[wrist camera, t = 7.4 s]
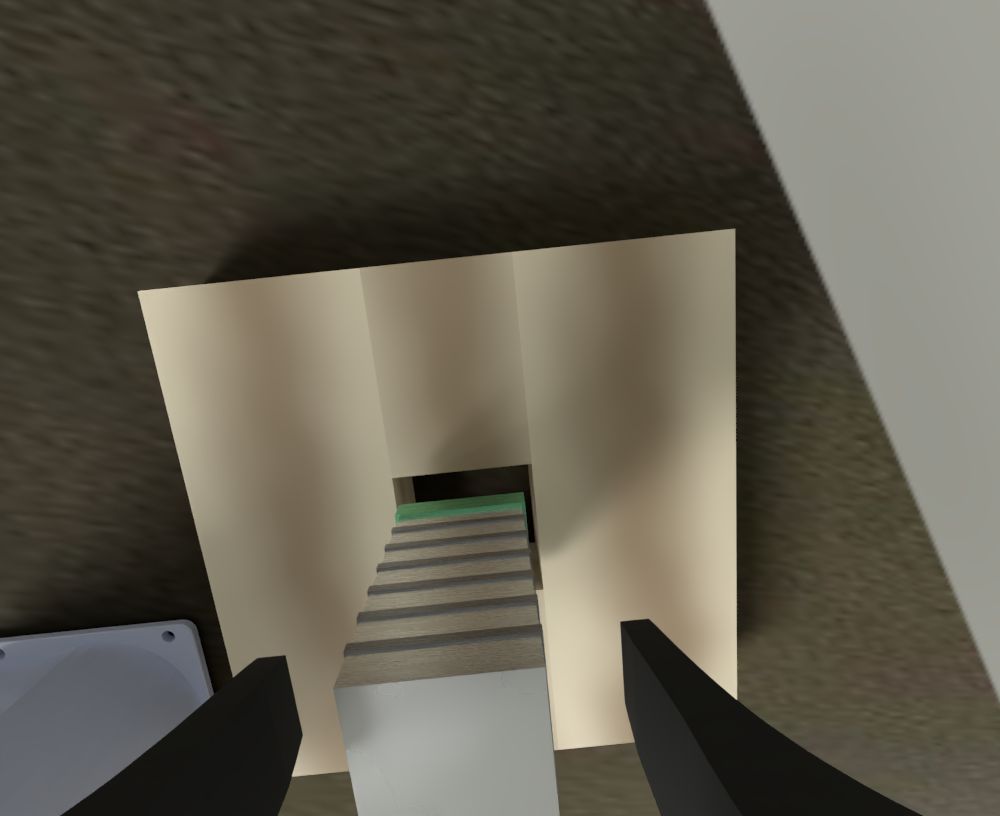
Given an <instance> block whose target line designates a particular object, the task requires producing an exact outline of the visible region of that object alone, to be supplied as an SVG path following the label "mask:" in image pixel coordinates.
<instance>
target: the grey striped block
mask: <svg viewBox="0 0 1000 816" xmlns="http://www.w3.org/2000/svg"><path fill="white" fill-rule="evenodd" d="M395 521H396V527H393V528H392V530H391V534H392V537H391V540H390V542H389V544H386V545H385V548H384V550H385V555H384V558H383V560H382V563H378V566H377V568H376V570H377V576H376V579H375V581H374V584H373V586H369V588H368V591H367V594H368V599H367V602H366V605H365V607H364V610H363V612H359V614H358V616H357V619H356V621H357V628H356V630H355V633H354V636H353V638H352V641H351V643H347V644H346V646H345V649H344V651H343V653H344V658H345V659H344V662H343V664H342V667H341V669H340V672H339V675H338V677H337V680H336V682H335V685H334V688H333V691H334V696H335V701H336V706H337V711H338V716H339V721H340V726H341V731H342V736H343V741H344V746H345V751H346V756H347V761H348V766H349V771H350V776H351V781H352V786H353V791H354V796H355V801H356V806H357V811H358V816H559V806H558V795H557V794H558V784H557V774H556V764H555V753H554V743H553V732H552V722H551V711H550V701H549V690H548V680H547V669H546V659H545V648H544V638H543V629H542V624H540V614H539V604H538V596H537V594H536V588H535V578H534V570H533V569H532V560H531V551H530V548H529V539H528V529H527V518H526V508H525V500H524V493H523V492H518V493H508V494H499V495H489V496H479V497H470V498H460V499H450V500H440V501H431V502H421V503H411V504H402V505H399V506H398V509H397V511H396V514H395Z"/></svg>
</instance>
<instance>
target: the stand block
mask: <svg viewBox="0 0 1000 816" xmlns="http://www.w3.org/2000/svg"><path fill="white" fill-rule="evenodd" d="M138 295H139V299H140V303H141V307H142V311H143V315H144V319H145V323H146V327H147V331H148V336H149V340H150V344H151V348H152V352H153V356H154V360H155V364H156V368H157V372H158V376H159V380H160V384H161V388H162V392H163V396H164V400H165V404H166V408H167V412H168V416H169V421H170V425H171V429H172V433H173V437H174V441H175V445H176V449H177V453H178V457H179V461H180V465H181V469H182V473H183V477H184V481H185V485H186V489H187V493H188V497H189V501H190V505H191V510H192V514H193V518H194V522H195V526H196V530H197V534H198V538H199V542H200V546H201V550H202V554H203V558H204V562H205V566H206V570H207V574H208V578H209V582H210V586H211V590H212V595H213V599H214V603H215V607H216V611H217V615H218V619H219V623H220V627H221V631H222V635H223V639H224V643H225V647H226V651H227V655H228V659H229V663H230V667H231V671H232V675H233V677H235V676H236V675H237V674H238V673H239V672H240V671H242V670H243V669H244V668H245V667H246V666H248V665H249V664H250V663H252V662H253V661H254V660H255V659H257V658H262V657H272V656H282V655H286V660H287V664H288V669H289V673H290V678H291V682H292V687H293V692H294V696H295V701H296V705H297V710H298V715H299V719H300V724H301V728H302V733H303V737H302V741H301V745H300V749H299V752H298V756H297V760H296V764H295V767H294V771H293V774H292V777H293V776H303V775H313V774H323V773H333V772H343V771H349V766H348V761H347V756H346V751H345V746H344V741H343V736H342V731H341V726H340V721H339V716H338V711H337V706H336V701H335V696H334V691H333V688H334V685H335V682H336V680H337V677H338V675H339V672H340V669H341V667H342V664H343V662H344V659H345V658H344V653H343V651H344V649H345V646H346V644H347V643H351V641H352V638H353V636H354V633H355V630H356V628H357V621H356V619H357V616H358V614H359V612H363V610H364V607H365V605H366V602H367V599H368V594H367V591H368V588H369V586H373V584H374V581H375V579H376V576H377V570H376V568H377V566H378V563H382V560H383V558H384V555H385V550H384V548H385V545H386V544H389V542H390V540H391V537H392V534H391V530H392V528H393V527H396V521H395V514H396V511H397V509H398V506H399V505H402V504H411V503H416V500H415V493H414V487H413V480H412V476H418V475H428V474H438V473H447V472H457V471H467V470H476V469H486V468H496V467H506V466H515V465H525V464H528V472H529V482H530V493H531V503H532V514H533V524H534V535H535V543H529V548H530V551H531V560H532V569H533V570H534V578H535V588H536V594H537V596H538V604H539V614H540V624H542V629H543V638H544V648H545V659H546V669H547V680H548V690H549V701H550V711H551V722H552V732H553V743H554V750H561V749H571V748H581V747H591V746H601V745H611V744H621V743H631V742H635V741H634V737H633V733H632V729H631V725H630V722H629V718H628V714H627V710H626V706H625V698H624V681H623V663H622V646H621V628H620V621H630V620H640V619H650V620H651V621H652V622H653V623H654V624H655V625H656V626H657V627H658V628H659V629H660V630H661V631H662V632H663V633H664V634H665V635H666V636H667V637H668V638H669V639H670V640H671V641H672V642H673V643H674V644H675V645H676V646H677V647H678V648H679V649H680V650H682V651H683V652H684V653H685V654H686V655H687V656H688V657H689V658H690V659H691V660H692V661H693V662H694V663H695V664H696V665H697V666H698V667H700V668H701V669H702V670H703V671H704V672H705V673H706V674H707V675H709V676H710V677H711V678H712V679H713V680H714V681H715V682H716V683H717V684H719V685H720V686H721V687H722V688H723V689H724V690H726V691H727V692H728V693H729V694H730V695H732V696H733V697H734V698H735V699H736V700H737V570H736V313H735V229H726V230H717V231H707V232H698V233H688V234H679V235H669V236H660V237H650V238H641V239H631V240H622V241H612V242H603V243H593V244H583V245H574V246H564V247H555V248H545V249H536V250H526V251H517V252H507V253H498V254H488V255H479V256H469V257H459V258H450V259H440V260H431V261H421V262H412V263H402V264H393V265H383V266H374V267H364V268H355V269H345V270H336V271H326V272H316V273H307V274H297V275H288V276H278V277H269V278H259V279H250V280H240V281H231V282H221V283H212V284H202V285H193V286H183V287H173V288H164V289H154V290H145V291H138Z"/></svg>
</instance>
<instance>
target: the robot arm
mask: <svg viewBox="0 0 1000 816" xmlns="http://www.w3.org/2000/svg"><path fill="white" fill-rule="evenodd" d="M620 628H621V646H622V663H623V681H624V698H625V706H626V710H627V714H628V718H629V722H630V725H631V729H632V733H633V737H634V741H635V744H636V748H637V752H638V755H639V758H640V760H641V763H642V766H643V768H644V771H645V774H646V776H647V779H648V782H649V784H650V787H651V790H652V792H653V795H654V798H655V800H656V803H657V806H658V808H659V811H660V814H661V816H922V815H920V814H918V813H916V812H914V811H912V810H910V809H908V808H906V807H904V806H902V805H900V804H898V803H896V802H894V801H892V800H891V799H889V798H887V797H885V796H883V795H881V794H880V793H878V792H876V791H874V790H872V789H870V788H868V787H867V786H865V785H863V784H861V783H860V782H858V781H856V780H854V779H853V778H851V777H849V776H848V775H846V774H844V773H843V772H841V771H839V770H837V769H836V768H834V767H832V766H831V765H829V764H827V763H826V762H824V761H822V760H821V759H819V758H818V757H816V756H814V755H813V754H811V753H810V752H808V751H807V750H805V749H803V748H802V747H800V746H799V745H798V744H796V743H795V742H793V741H792V740H790V739H789V738H787V737H786V736H784V735H783V734H782V733H780V732H779V731H777V730H776V729H774V728H773V727H771V726H770V725H769V724H767V723H766V722H765V721H763V720H762V719H760V718H759V717H758V716H756V715H755V714H754V713H753V712H751V711H750V710H749V709H748V708H746V707H745V706H744V705H743V704H741V703H740V702H739V701H738V700H736V699H735V698H734V697H733V696H732V695H730V694H729V693H728V692H727V691H726V690H724V689H723V688H722V687H721V686H720V685H719V684H717V683H716V682H715V681H714V680H713V679H712V678H711V677H710V676H709V675H707V674H706V673H705V672H704V671H703V670H702V669H701V668H700V667H698V666H697V665H696V664H695V663H694V662H693V661H692V660H691V659H690V658H689V657H688V656H687V655H686V654H685V653H684V652H683V651H682V650H680V649H679V648H678V647H677V646H676V645H675V644H674V643H673V642H672V641H671V640H670V639H669V638H668V637H667V636H666V635H665V634H664V633H663V632H662V631H661V630H660V629H659V628H658V627H657V626H656V625H655V624H654V623H653V622H652V621H651V620H650V619H640V620H630V621H620ZM168 631H170V632H172V633H173V634H174V635H175V636H171V635H170V634H169V633H168ZM2 650H3V651H4V652H3V651H2ZM302 737H303V733H302V728H301V724H300V719H299V715H298V710H297V705H296V701H295V696H294V692H293V687H292V682H291V678H290V673H289V669H288V664H287V660H286V655H282V656H272V657H262V658H257V659H255V660H254V661H253V662H252V663H250V664H249V665H248V666H246V667H245V668H244V669H243V670H242V671H240V672H239V673H238V674H237V675H236V676H235V677H233V678H232V679H231V680H230V681H229V682H228V683H226V684H225V685H224V686H223V687H222V688H221V689H219V690H218V691H217V692H216V693H215V694H214V692H213V688H212V685H211V681H210V677H209V673H208V669H207V665H206V661H205V657H204V654H203V650H202V646H201V642H200V638H199V634H198V630H197V628H196V626H195V624H194V623H192V622H191V621H189V620H173V621H163V622H153V623H143V624H134V625H124V626H114V627H104V628H94V629H85V630H75V631H65V632H55V633H45V634H36V635H26V636H16V637H6V638H0V816H278V813H279V811H280V808H281V806H282V803H283V801H284V798H285V795H286V793H287V790H288V788H289V784H290V781H291V778H292V774H293V771H294V767H295V764H296V760H297V756H298V752H299V749H300V745H301V741H302Z"/></svg>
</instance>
